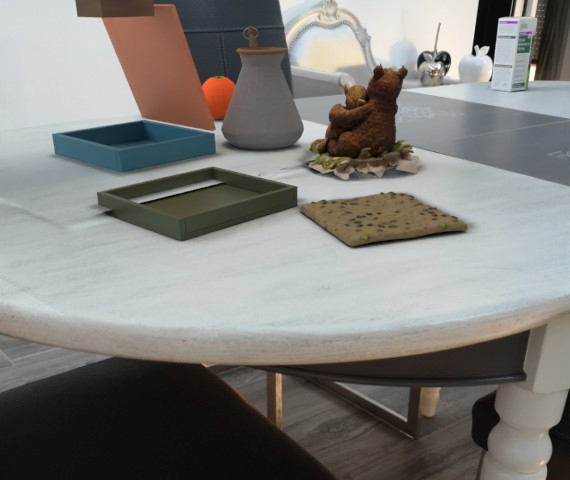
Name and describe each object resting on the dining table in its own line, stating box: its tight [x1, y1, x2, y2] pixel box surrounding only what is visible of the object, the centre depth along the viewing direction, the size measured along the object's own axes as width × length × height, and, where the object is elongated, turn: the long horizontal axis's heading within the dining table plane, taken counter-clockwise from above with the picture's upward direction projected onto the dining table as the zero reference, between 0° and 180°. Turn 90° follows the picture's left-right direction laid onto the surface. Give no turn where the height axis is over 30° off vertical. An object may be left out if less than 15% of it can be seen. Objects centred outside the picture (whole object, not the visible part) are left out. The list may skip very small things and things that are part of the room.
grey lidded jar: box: [220, 25, 305, 151], centre depth 94 cm, size 21×12×15 cm, turn 7°
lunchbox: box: [51, 119, 217, 173], centre depth 87 cm, size 15×16×3 cm
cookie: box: [299, 191, 468, 247], centre depth 63 cm, size 12×12×1 cm
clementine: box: [201, 74, 236, 120], centre depth 114 cm, size 8×7×7 cm
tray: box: [96, 165, 299, 242], centre depth 67 cm, size 15×13×2 cm
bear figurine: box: [305, 63, 420, 181], centre depth 81 cm, size 14×15×12 cm
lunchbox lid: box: [101, 3, 217, 132], centre depth 86 cm, size 15×16×1 cm
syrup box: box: [490, 15, 538, 93], centre depth 144 cm, size 6×6×14 cm
